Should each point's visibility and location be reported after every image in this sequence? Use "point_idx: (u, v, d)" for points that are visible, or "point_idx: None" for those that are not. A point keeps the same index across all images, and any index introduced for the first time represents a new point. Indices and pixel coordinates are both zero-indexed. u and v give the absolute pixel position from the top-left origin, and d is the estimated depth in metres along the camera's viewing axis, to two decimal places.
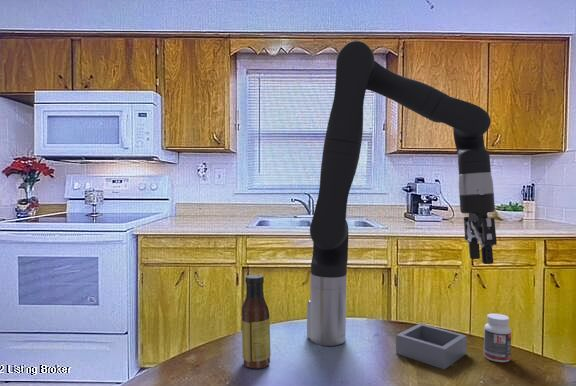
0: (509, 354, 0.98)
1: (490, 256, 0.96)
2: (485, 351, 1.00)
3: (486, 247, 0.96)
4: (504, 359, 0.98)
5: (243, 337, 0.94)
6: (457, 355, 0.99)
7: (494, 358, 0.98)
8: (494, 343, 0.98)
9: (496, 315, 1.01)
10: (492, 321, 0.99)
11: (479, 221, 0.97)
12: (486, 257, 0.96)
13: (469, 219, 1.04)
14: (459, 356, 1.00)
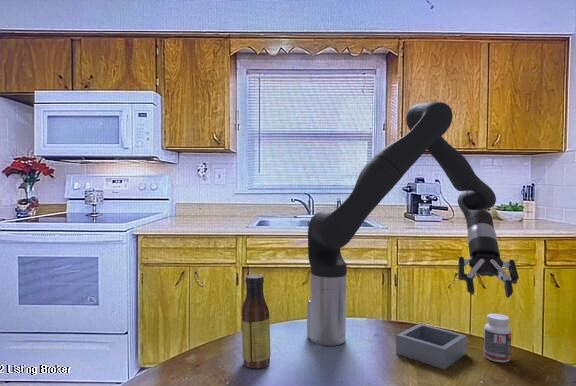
0: (509, 354, 0.98)
1: None
2: (485, 351, 1.00)
3: (511, 282, 1.10)
4: (504, 359, 0.98)
5: (243, 337, 0.94)
6: (457, 355, 0.99)
7: (494, 358, 0.98)
8: (494, 343, 0.98)
9: (496, 315, 1.01)
10: (492, 321, 0.99)
11: (501, 261, 1.13)
12: (512, 289, 1.08)
13: (475, 259, 1.15)
14: (459, 356, 1.00)
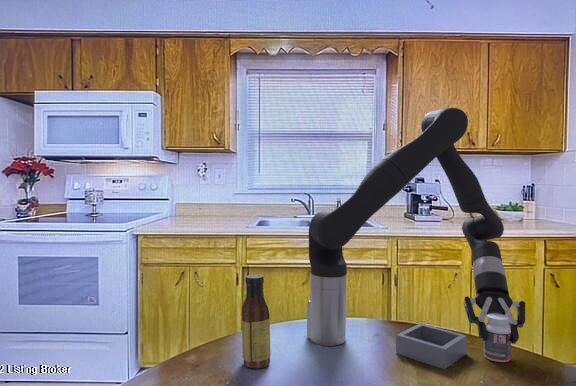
0: (509, 354, 0.98)
1: None
2: (485, 351, 1.00)
3: (517, 326, 1.00)
4: (504, 359, 0.98)
5: (243, 337, 0.94)
6: (457, 355, 0.99)
7: (494, 358, 0.98)
8: (494, 342, 0.98)
9: (496, 315, 1.01)
10: (492, 321, 0.99)
11: (511, 301, 1.04)
12: (518, 335, 0.98)
13: (481, 296, 1.06)
14: (459, 356, 1.00)
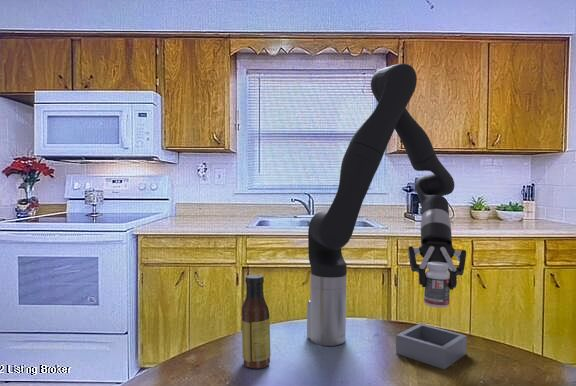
0: (447, 300, 1.00)
1: None
2: (425, 297, 1.02)
3: (456, 273, 1.01)
4: (442, 304, 0.99)
5: (243, 337, 0.94)
6: (457, 355, 0.99)
7: (432, 303, 1.00)
8: (432, 288, 1.00)
9: (436, 262, 1.02)
10: (431, 267, 1.00)
11: (453, 250, 1.05)
12: (456, 281, 1.00)
13: (424, 246, 1.07)
14: (459, 356, 1.00)
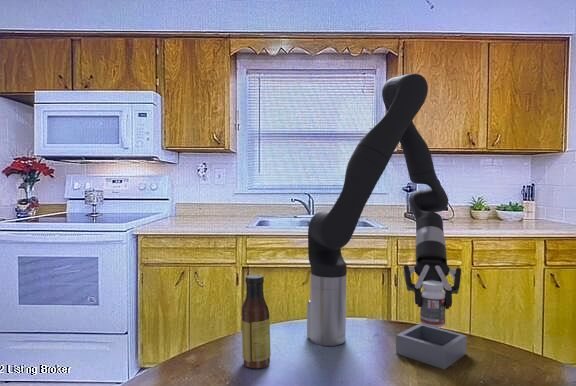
0: (443, 319, 1.00)
1: (451, 301, 1.01)
2: (421, 317, 1.02)
3: (451, 292, 1.02)
4: (438, 324, 1.00)
5: (243, 337, 0.94)
6: (457, 355, 0.99)
7: (428, 323, 1.00)
8: (428, 308, 1.00)
9: (431, 282, 1.03)
10: (426, 287, 1.01)
11: (448, 268, 1.05)
12: (451, 300, 1.00)
13: (419, 265, 1.07)
14: (459, 356, 1.00)
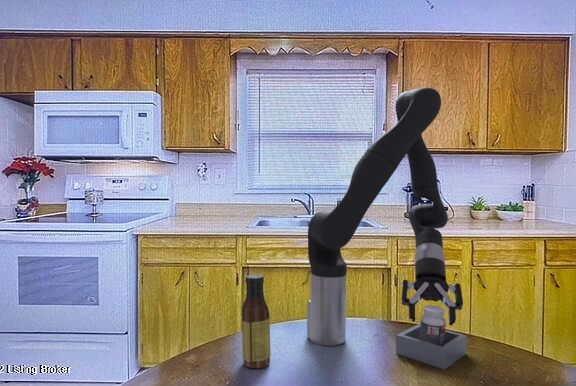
0: (442, 345, 1.00)
1: None
2: None
3: (455, 308, 1.02)
4: None
5: (243, 337, 0.94)
6: (457, 355, 0.99)
7: None
8: (427, 334, 1.00)
9: (432, 307, 1.03)
10: (427, 313, 1.01)
11: (447, 285, 1.06)
12: (455, 317, 1.00)
13: (419, 282, 1.07)
14: (459, 356, 1.00)
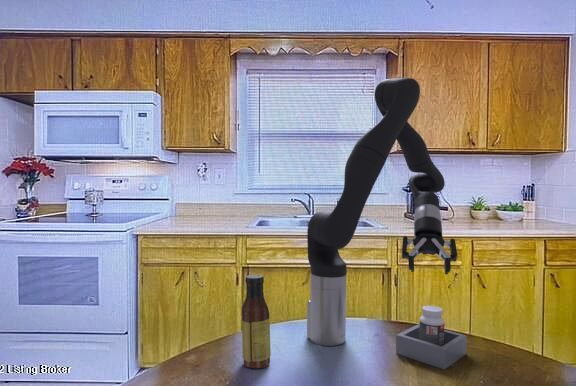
0: (441, 345, 1.01)
1: None
2: None
3: (450, 259, 1.13)
4: None
5: (243, 337, 0.94)
6: (457, 355, 0.99)
7: None
8: (426, 334, 1.00)
9: (430, 307, 1.03)
10: (425, 313, 1.01)
11: (443, 240, 1.17)
12: (450, 266, 1.12)
13: (418, 238, 1.19)
14: (459, 356, 1.00)
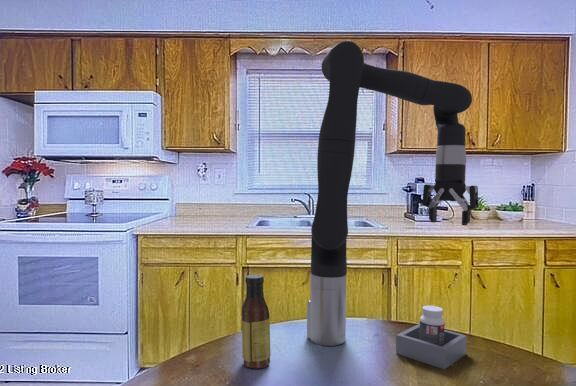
0: (441, 345, 1.00)
1: (469, 218, 1.11)
2: None
3: (469, 211, 1.10)
4: None
5: (243, 337, 0.94)
6: (457, 355, 0.99)
7: None
8: (426, 333, 1.01)
9: (431, 307, 1.03)
10: (426, 312, 1.01)
11: (462, 188, 1.11)
12: (467, 219, 1.10)
13: (437, 186, 1.15)
14: (459, 356, 1.00)
